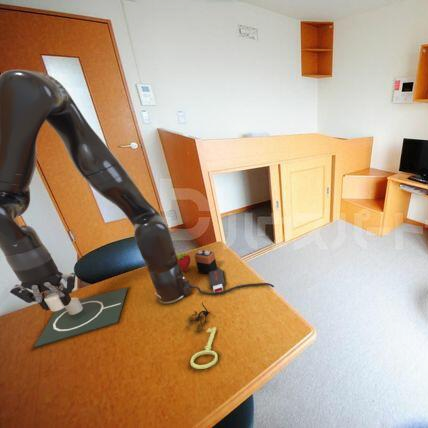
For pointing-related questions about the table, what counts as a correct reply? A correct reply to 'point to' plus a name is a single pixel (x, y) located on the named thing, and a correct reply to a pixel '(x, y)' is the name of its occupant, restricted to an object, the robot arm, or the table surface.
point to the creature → (199, 317)
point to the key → (206, 352)
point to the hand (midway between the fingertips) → (58, 305)
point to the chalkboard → (84, 317)
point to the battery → (205, 261)
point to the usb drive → (216, 280)
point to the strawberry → (183, 261)
